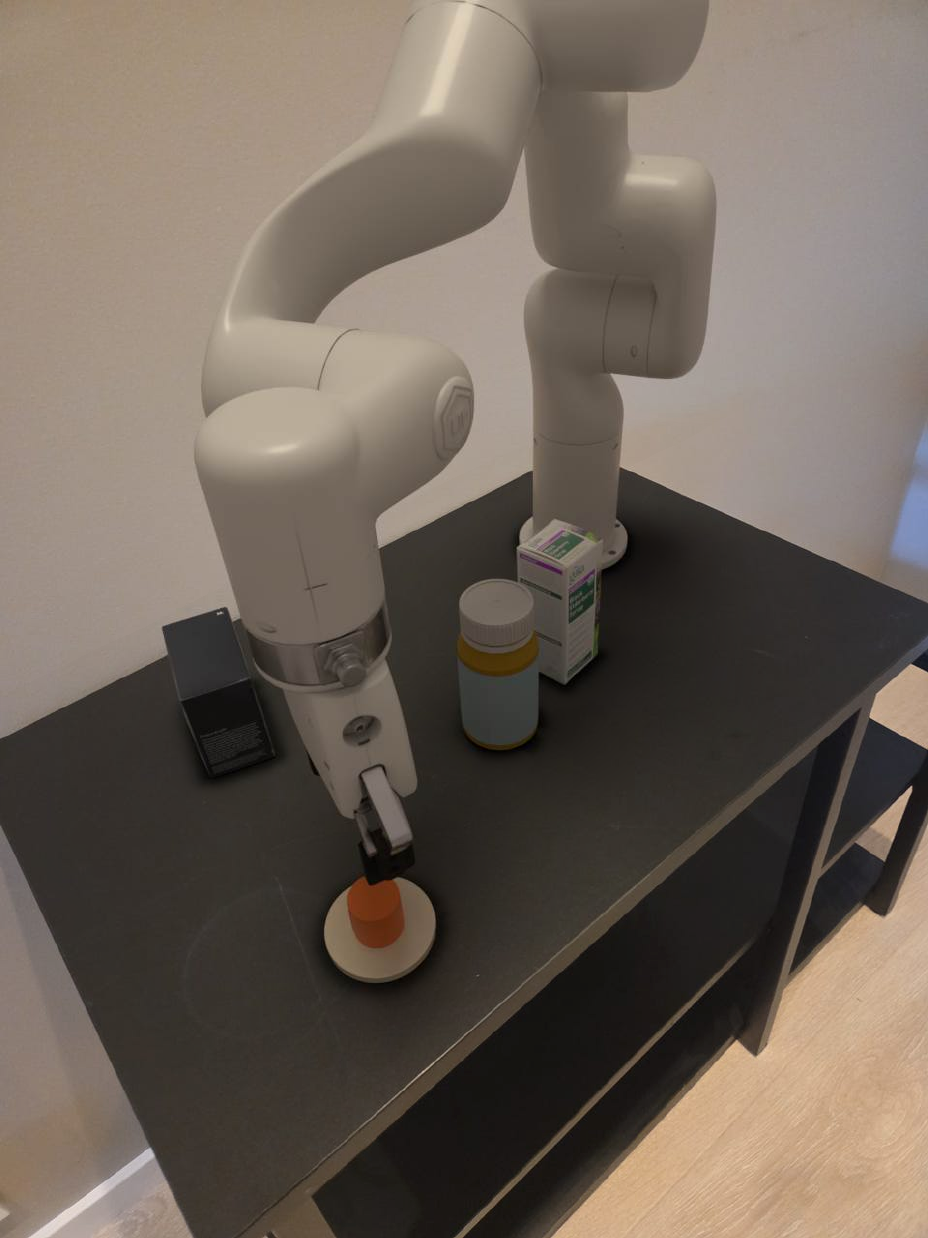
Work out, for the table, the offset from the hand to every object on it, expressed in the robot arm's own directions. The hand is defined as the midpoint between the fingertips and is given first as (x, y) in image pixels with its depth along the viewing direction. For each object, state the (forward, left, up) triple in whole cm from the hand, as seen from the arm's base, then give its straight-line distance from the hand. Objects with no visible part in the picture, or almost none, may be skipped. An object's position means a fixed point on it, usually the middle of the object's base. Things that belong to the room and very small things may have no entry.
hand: (361, 816), depth 57 cm
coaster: (0, 0, -14) cm, 14 cm away
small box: (-17, -20, -14) cm, 29 cm away
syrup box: (-32, +9, -14) cm, 35 cm away
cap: (0, 0, -13) cm, 13 cm away
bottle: (-22, +5, -14) cm, 26 cm away
